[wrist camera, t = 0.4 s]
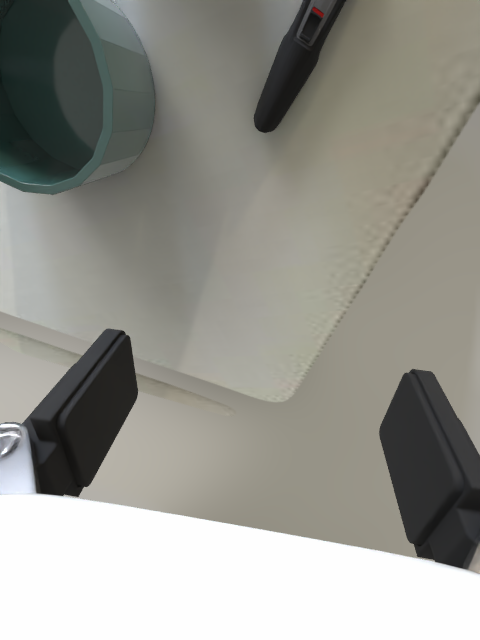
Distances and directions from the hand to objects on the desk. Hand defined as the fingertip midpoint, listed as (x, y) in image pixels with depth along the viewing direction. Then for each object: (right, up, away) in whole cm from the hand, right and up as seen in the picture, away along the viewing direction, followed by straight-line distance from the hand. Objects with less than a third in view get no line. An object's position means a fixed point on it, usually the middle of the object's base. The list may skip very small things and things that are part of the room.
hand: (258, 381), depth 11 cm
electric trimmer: (+6, +27, +18) cm, 33 cm away
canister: (-18, +26, +22) cm, 38 cm away
